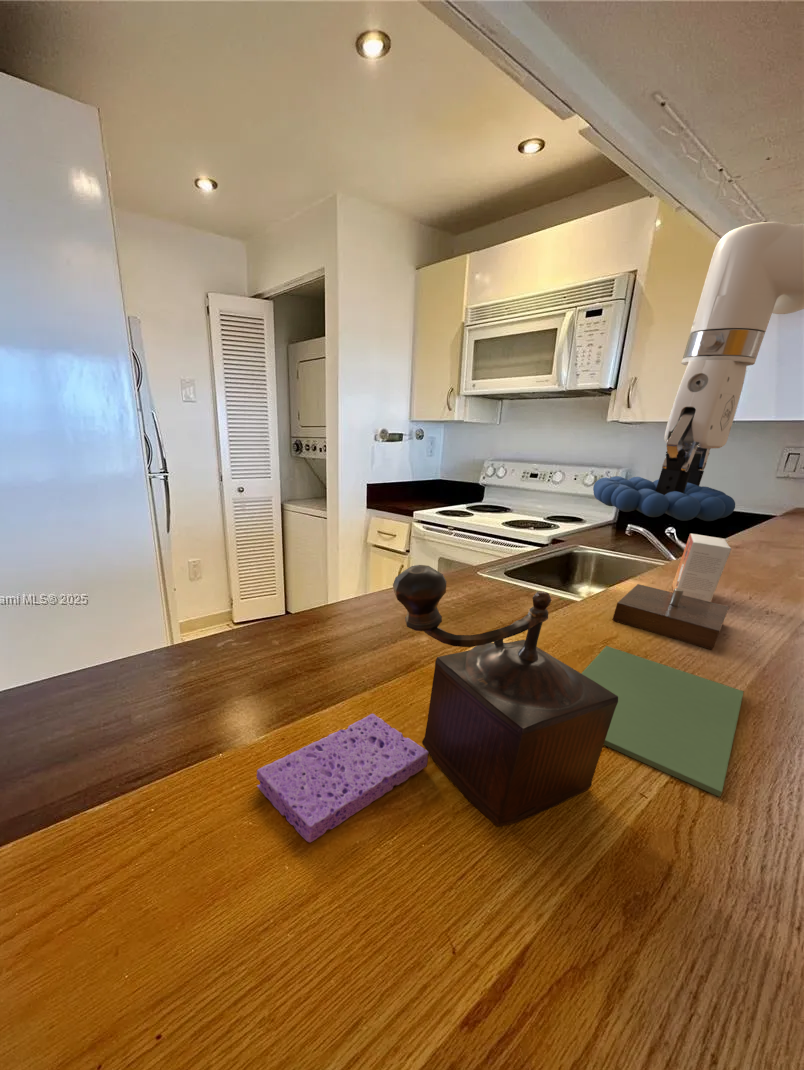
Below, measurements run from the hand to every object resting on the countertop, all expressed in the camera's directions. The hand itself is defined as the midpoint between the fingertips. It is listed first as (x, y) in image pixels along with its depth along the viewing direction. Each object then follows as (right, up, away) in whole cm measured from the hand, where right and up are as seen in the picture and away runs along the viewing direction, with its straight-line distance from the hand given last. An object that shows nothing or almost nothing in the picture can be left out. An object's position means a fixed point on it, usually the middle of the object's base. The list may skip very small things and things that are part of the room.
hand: (674, 498), depth 65 cm
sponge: (-45, -29, -26) cm, 59 cm away
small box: (+18, -13, +22) cm, 31 cm away
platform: (+5, -17, +9) cm, 21 cm away
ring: (-5, -2, -3) cm, 6 cm away
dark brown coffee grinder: (-34, -29, -24) cm, 51 cm away
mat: (-12, -26, -13) cm, 31 cm away
